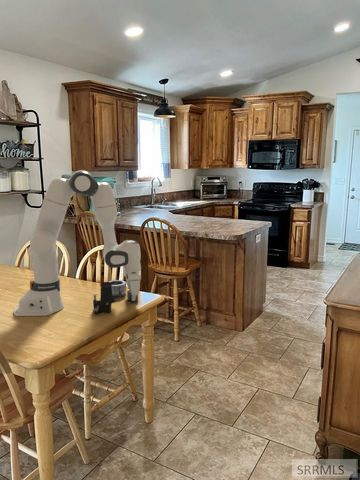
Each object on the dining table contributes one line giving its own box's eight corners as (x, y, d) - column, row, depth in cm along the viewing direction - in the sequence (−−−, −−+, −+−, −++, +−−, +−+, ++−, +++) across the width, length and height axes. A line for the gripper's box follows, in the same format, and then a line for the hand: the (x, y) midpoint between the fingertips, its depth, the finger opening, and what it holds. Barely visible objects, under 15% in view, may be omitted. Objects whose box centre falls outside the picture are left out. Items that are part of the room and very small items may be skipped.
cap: (128, 303, 194) (127, 292, 193) (126, 299, 199) (126, 289, 198) (138, 302, 195) (138, 291, 194) (137, 298, 201) (137, 288, 199)
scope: (92, 282, 183) (113, 280, 186) (93, 309, 185) (114, 307, 188) (93, 287, 175) (115, 285, 178) (94, 316, 178) (116, 313, 181)
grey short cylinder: (107, 298, 201) (107, 286, 200) (106, 292, 210) (105, 280, 209) (127, 296, 203) (126, 285, 202) (124, 290, 213) (124, 279, 212)
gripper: (123, 267, 203) (123, 292, 206) (128, 278, 184) (129, 305, 187) (135, 266, 205) (135, 291, 208) (141, 277, 186) (142, 304, 188)
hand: (132, 298), depth 197 cm, fingers closed on cap, 5 cm apart
